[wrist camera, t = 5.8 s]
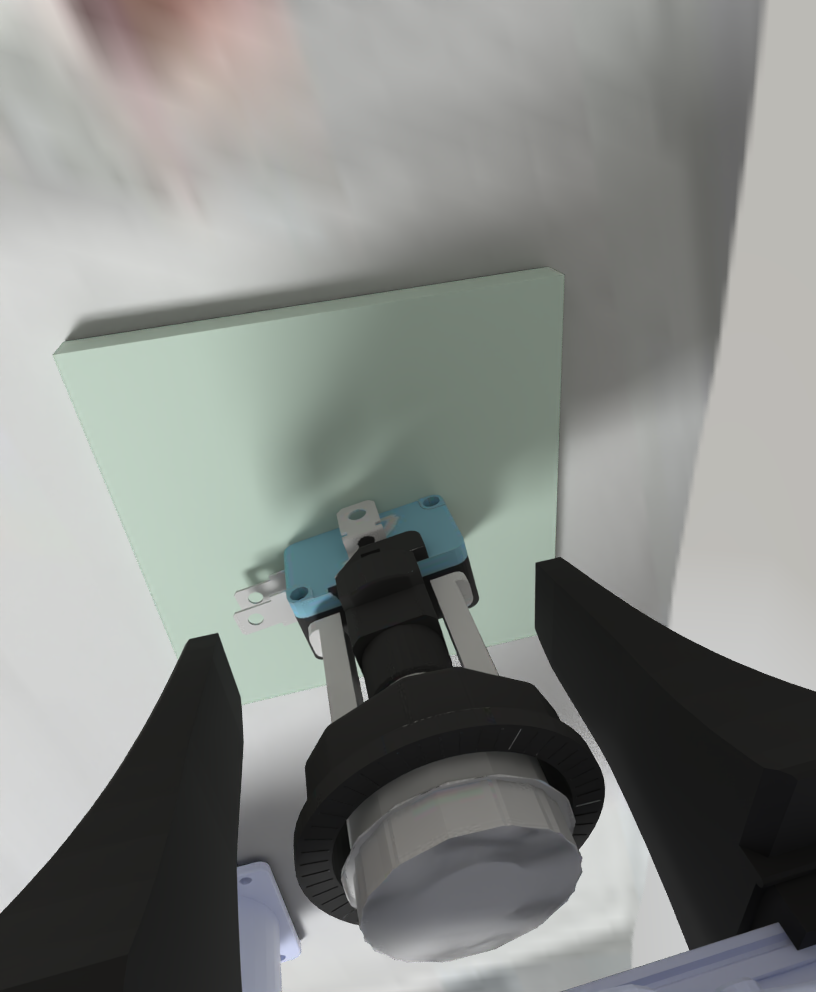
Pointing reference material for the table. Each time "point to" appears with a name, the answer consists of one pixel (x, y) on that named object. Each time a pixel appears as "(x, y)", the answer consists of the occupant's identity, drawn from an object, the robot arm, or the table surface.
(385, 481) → the sage board
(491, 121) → the table surface
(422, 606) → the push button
